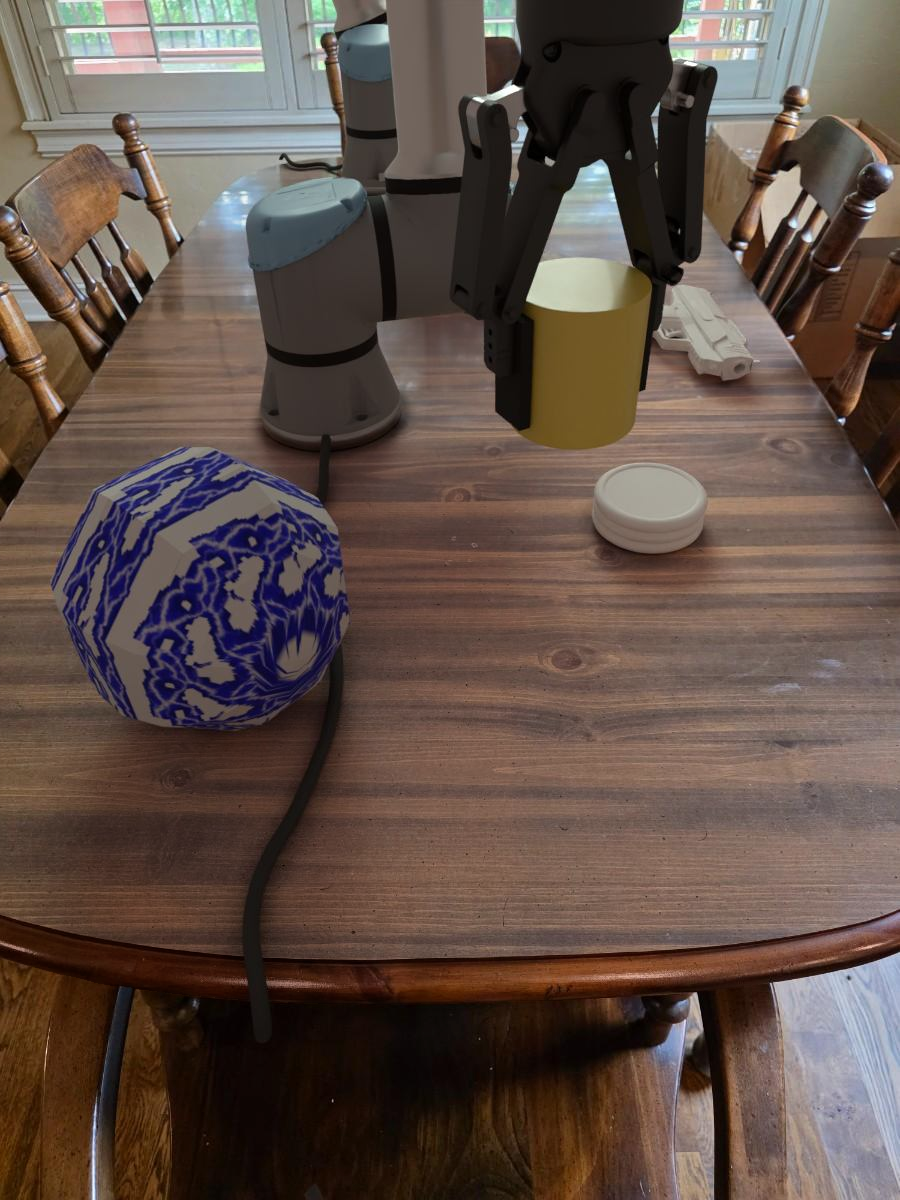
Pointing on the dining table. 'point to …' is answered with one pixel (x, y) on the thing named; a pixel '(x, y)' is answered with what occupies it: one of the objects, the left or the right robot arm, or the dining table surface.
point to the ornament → (203, 591)
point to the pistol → (704, 334)
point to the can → (586, 351)
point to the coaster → (649, 507)
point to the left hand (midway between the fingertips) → (571, 400)
